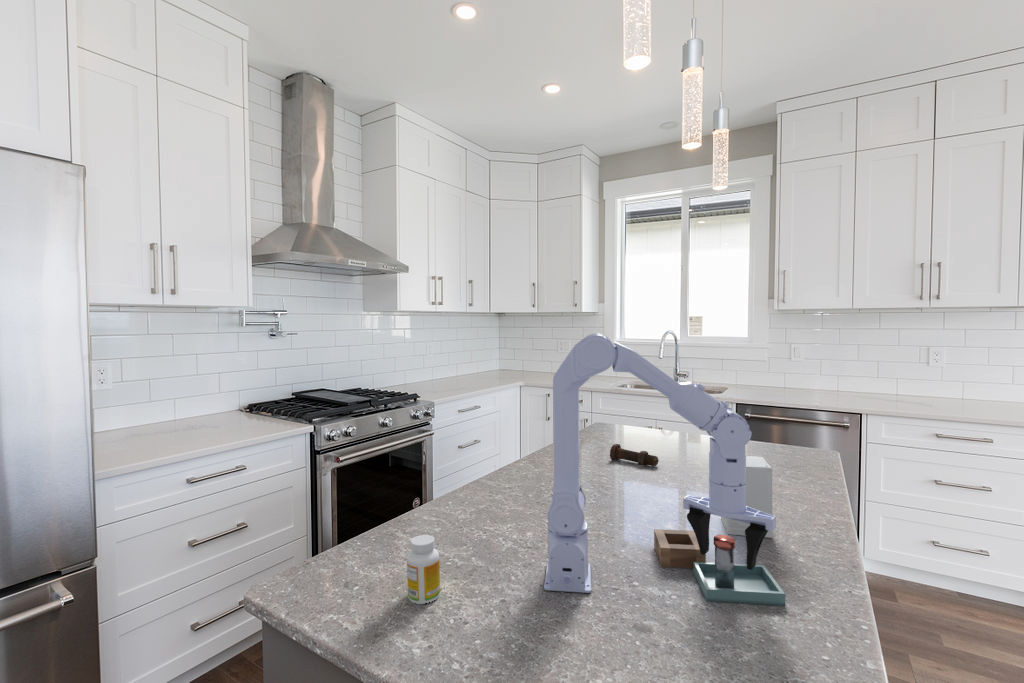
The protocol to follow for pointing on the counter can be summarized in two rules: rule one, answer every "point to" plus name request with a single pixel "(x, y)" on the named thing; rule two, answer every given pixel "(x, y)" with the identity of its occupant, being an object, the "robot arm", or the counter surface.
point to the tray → (740, 585)
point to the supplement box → (754, 494)
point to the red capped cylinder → (724, 561)
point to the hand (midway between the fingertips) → (727, 559)
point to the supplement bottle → (423, 570)
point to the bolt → (633, 456)
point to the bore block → (677, 548)
